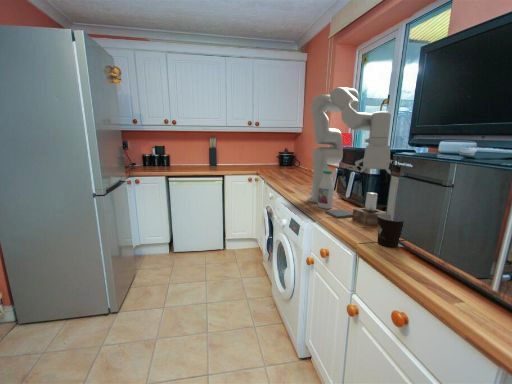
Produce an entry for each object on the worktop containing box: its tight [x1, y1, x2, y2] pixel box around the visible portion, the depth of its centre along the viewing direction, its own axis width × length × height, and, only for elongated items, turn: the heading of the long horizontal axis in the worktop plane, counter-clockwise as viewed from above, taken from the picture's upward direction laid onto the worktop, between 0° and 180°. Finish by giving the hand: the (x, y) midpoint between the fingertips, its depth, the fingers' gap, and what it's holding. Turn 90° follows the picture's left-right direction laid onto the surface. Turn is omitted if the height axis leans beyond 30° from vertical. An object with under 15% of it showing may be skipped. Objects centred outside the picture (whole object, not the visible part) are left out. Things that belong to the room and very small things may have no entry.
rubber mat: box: [324, 208, 353, 219], centre depth 127 cm, size 10×10×1 cm
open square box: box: [351, 207, 387, 227], centre depth 117 cm, size 10×10×5 cm
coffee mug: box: [377, 213, 404, 249], centre depth 92 cm, size 12×9×10 cm
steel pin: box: [364, 191, 379, 213], centre depth 116 cm, size 4×4×13 cm
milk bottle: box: [317, 169, 335, 210], centre depth 138 cm, size 8×8×20 cm
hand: (374, 181), depth 113 cm, fingers open, 9 cm apart
